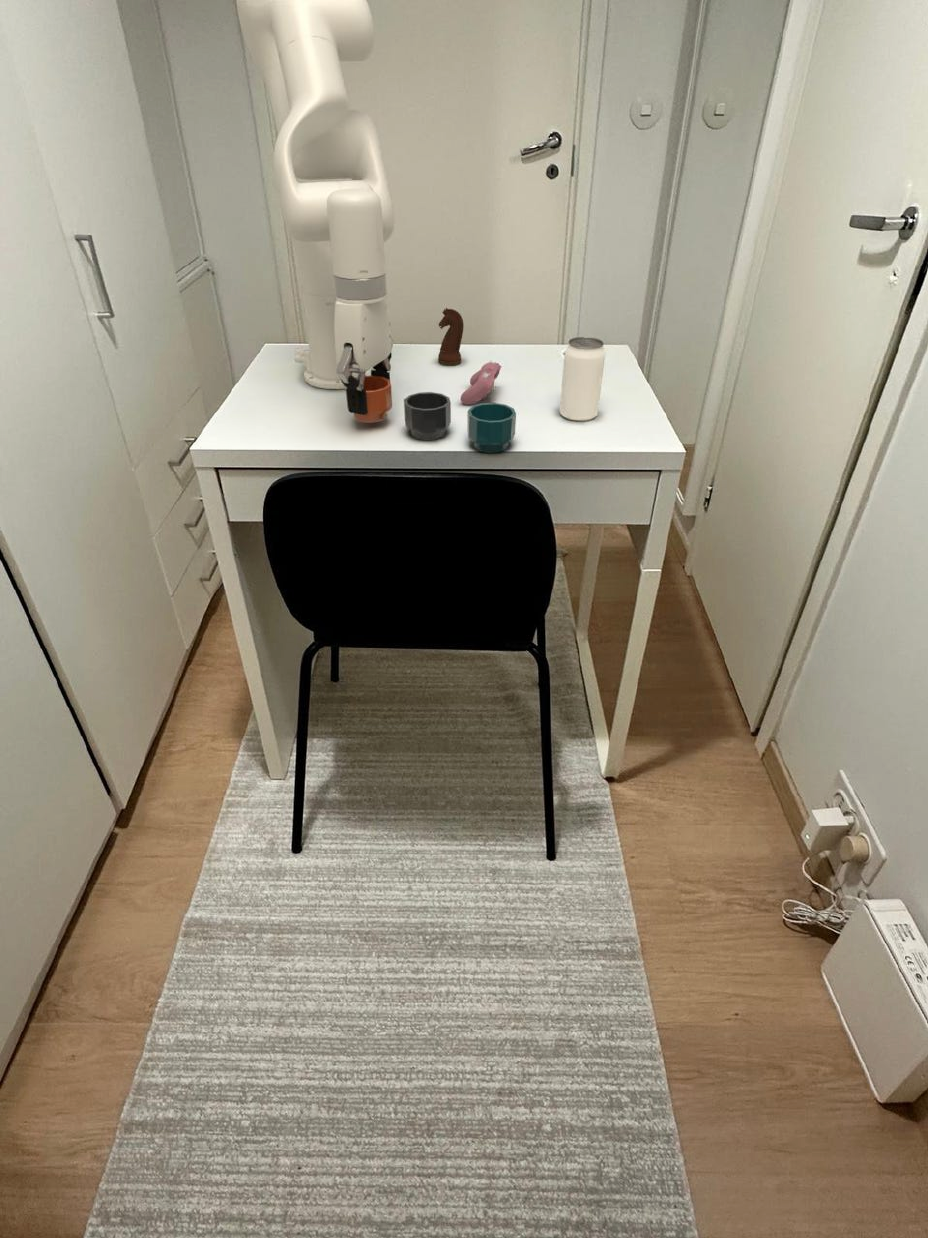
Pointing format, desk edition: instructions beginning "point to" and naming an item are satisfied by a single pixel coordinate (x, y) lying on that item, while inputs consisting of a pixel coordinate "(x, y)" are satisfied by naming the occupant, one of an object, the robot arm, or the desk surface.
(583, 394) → the can
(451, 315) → the chess piece
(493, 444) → the top bowl
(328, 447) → the desk surface
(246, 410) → the desk surface
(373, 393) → the middle bowl
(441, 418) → the bottom bowl
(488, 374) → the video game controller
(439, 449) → the desk surface
